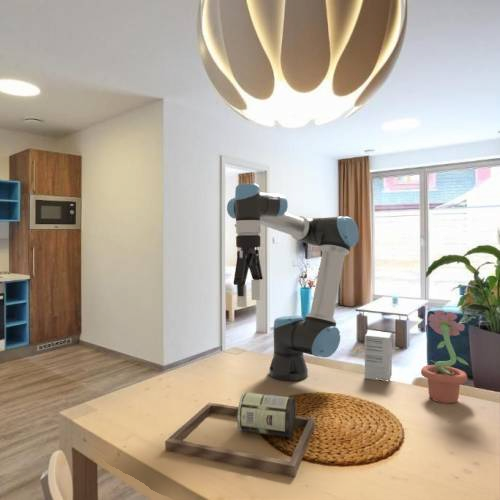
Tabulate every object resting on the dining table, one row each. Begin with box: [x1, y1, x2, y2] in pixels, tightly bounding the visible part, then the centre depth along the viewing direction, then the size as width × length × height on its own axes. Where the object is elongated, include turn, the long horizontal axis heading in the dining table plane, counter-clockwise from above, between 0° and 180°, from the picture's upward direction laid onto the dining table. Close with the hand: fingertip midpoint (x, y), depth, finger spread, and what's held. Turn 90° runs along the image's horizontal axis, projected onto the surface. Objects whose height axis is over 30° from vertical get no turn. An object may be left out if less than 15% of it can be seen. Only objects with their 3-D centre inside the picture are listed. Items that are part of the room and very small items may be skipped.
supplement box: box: [364, 330, 393, 383], centre depth 151 cm, size 10×9×17 cm
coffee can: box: [236, 391, 297, 439], centre depth 106 cm, size 10×10×14 cm
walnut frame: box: [164, 402, 316, 478], centre depth 103 cm, size 33×25×2 cm
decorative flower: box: [420, 309, 469, 404], centre depth 129 cm, size 15×14×30 cm
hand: (249, 303), depth 120 cm, fingers open, 13 cm apart
